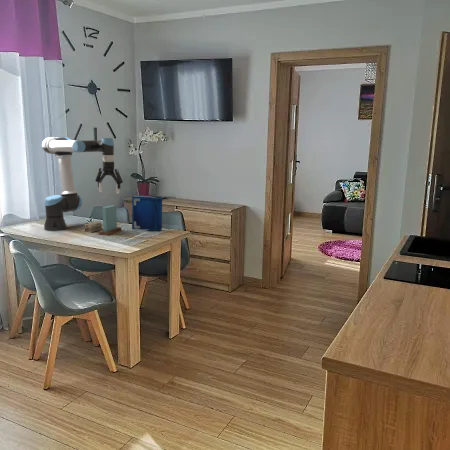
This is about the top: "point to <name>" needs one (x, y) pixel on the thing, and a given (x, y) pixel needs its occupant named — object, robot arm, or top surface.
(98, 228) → the offcut stack
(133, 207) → the book
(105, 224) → the teal slotted panel
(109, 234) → the slot rack
